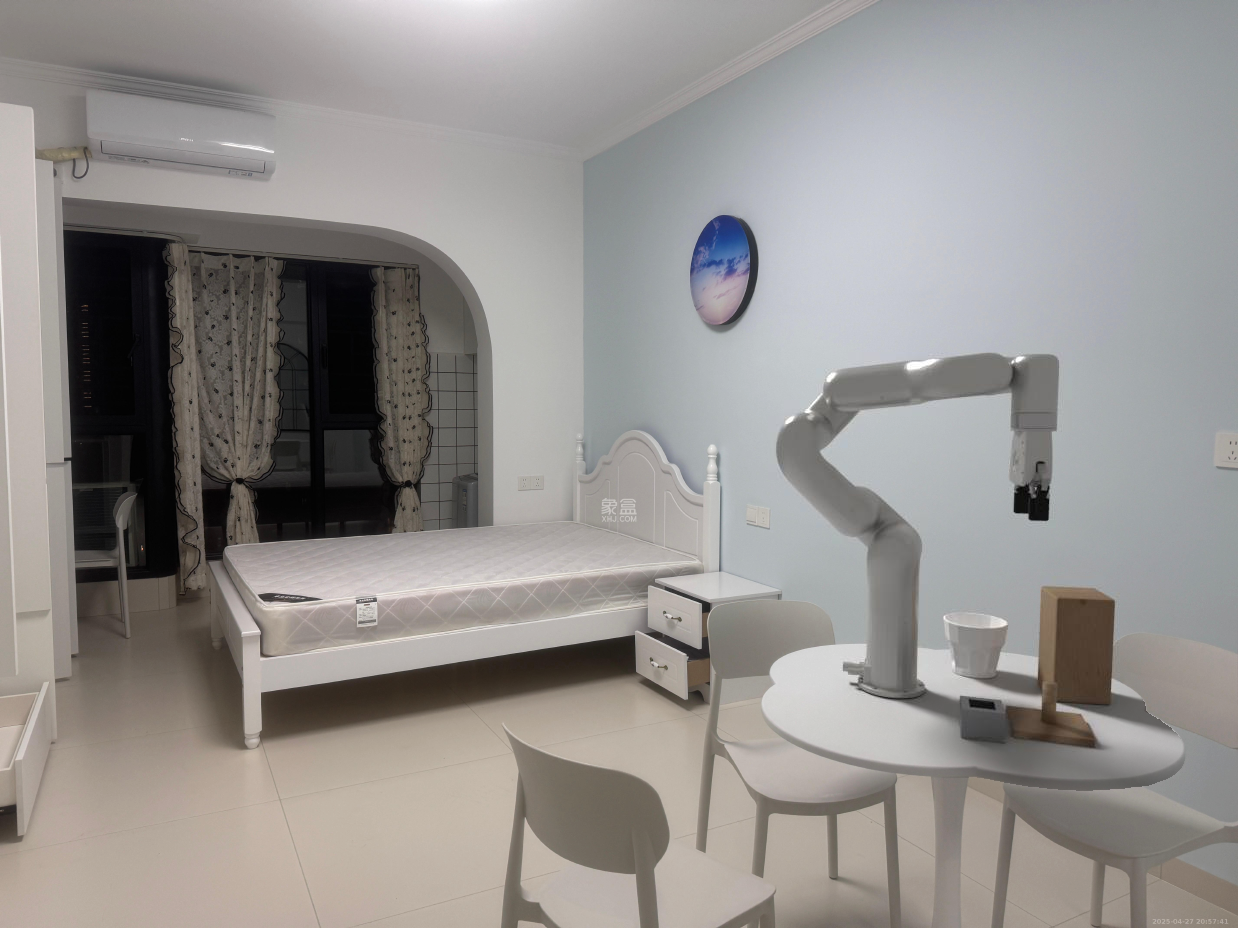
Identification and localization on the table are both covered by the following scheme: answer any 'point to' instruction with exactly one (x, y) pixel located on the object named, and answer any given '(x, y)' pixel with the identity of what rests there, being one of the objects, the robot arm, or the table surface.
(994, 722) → the collar
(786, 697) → the table surface
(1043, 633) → the wooden block
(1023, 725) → the post base
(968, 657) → the cup
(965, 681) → the table surface
